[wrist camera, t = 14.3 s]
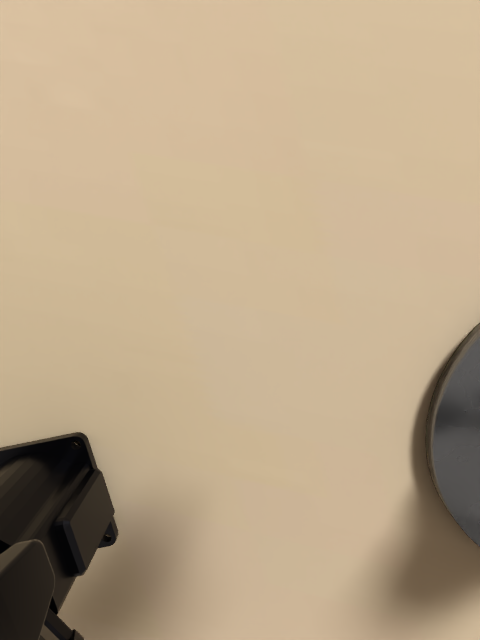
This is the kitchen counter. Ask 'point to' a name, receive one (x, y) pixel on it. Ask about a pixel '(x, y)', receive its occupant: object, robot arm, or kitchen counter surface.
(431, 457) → the crown on disc
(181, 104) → the kitchen counter surface
